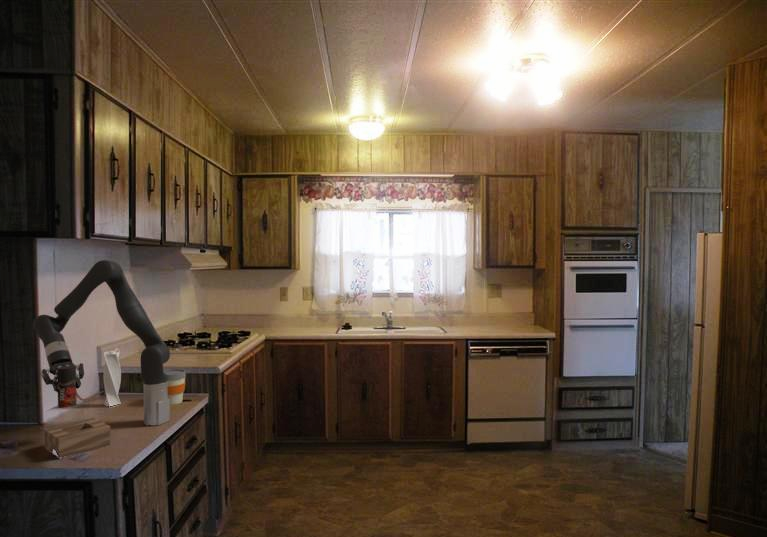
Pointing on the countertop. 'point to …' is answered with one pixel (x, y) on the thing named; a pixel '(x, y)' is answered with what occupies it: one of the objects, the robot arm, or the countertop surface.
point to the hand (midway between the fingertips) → (68, 389)
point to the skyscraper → (112, 377)
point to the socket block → (77, 437)
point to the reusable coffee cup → (175, 385)
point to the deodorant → (67, 386)
